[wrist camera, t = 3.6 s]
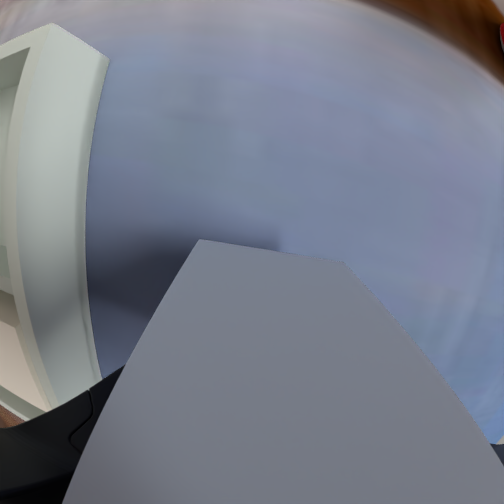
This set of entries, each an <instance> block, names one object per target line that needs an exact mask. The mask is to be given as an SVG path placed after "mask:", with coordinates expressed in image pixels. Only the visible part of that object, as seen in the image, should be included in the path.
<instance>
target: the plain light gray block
mask: <svg viewBox="0 0 504 504" xmlns="http://www.w3.org/2000/svg"><path fill="white" fill-rule="evenodd" d="M62 504H504V466H503V464H502V463H501V461H500V459H499V458H498V456H497V454H496V453H495V451H494V450H493V448H492V446H491V445H490V443H489V442H488V440H487V439H486V437H485V436H484V434H483V432H482V431H481V429H480V428H479V427H478V425H477V424H476V422H475V421H474V419H473V418H472V416H471V415H470V413H469V412H468V411H467V409H466V408H465V406H464V405H463V404H462V402H461V401H460V400H459V398H458V397H457V395H456V394H455V393H454V391H453V390H452V389H451V387H450V386H449V385H448V383H447V382H446V381H445V379H444V378H443V377H442V376H441V374H440V373H439V372H438V370H437V369H436V368H435V367H434V365H433V364H432V363H431V362H430V360H429V359H428V358H427V357H426V355H425V354H424V353H423V352H422V350H421V349H420V348H419V347H418V345H417V344H416V343H415V342H414V341H413V339H412V338H411V337H410V336H409V335H408V333H407V332H406V331H405V330H404V329H403V328H402V326H401V325H400V324H399V323H398V322H397V321H396V319H395V318H394V317H393V316H392V315H391V314H390V312H389V311H388V310H387V309H386V308H385V307H384V306H383V304H382V303H381V302H380V301H379V300H378V299H377V298H376V297H375V296H374V294H373V293H372V292H371V291H370V290H369V289H368V288H367V287H366V286H365V285H364V283H363V282H362V281H361V280H360V279H359V278H358V277H357V276H356V275H355V274H354V273H353V272H352V271H351V269H350V268H349V267H348V266H347V265H346V264H345V263H344V262H339V261H333V260H327V259H321V258H314V257H308V256H302V255H296V254H290V253H284V252H278V251H272V250H265V249H259V248H253V247H247V246H241V245H234V244H228V243H222V242H216V241H209V240H203V239H199V240H198V242H197V243H196V245H195V246H194V248H193V249H192V251H191V253H190V254H189V256H188V257H187V259H186V261H185V262H184V264H183V266H182V267H181V269H180V270H179V272H178V274H177V275H176V277H175V279H174V280H173V282H172V284H171V285H170V287H169V289H168V290H167V292H166V294H165V295H164V297H163V299H162V301H161V302H160V304H159V306H158V307H157V309H156V311H155V313H154V314H153V316H152V318H151V320H150V321H149V323H148V325H147V327H146V328H145V330H144V332H143V334H142V336H141V337H140V339H139V341H138V343H137V345H136V346H135V348H134V350H133V352H132V354H131V356H130V358H129V359H128V361H127V363H126V365H125V367H124V369H123V371H122V373H121V375H120V377H119V378H118V380H117V382H116V384H115V386H114V388H113V390H112V392H111V394H110V396H109V398H108V400H107V402H106V404H105V406H104V408H103V410H102V412H101V414H100V417H99V419H98V421H97V423H96V425H95V427H94V429H93V431H92V434H91V436H90V438H89V440H88V442H87V444H86V447H85V449H84V451H83V454H82V456H81V458H80V460H79V463H78V465H77V467H76V470H75V472H74V475H73V477H72V480H71V482H70V485H69V487H68V490H67V492H66V495H65V497H64V500H63V503H62Z"/></svg>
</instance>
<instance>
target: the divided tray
mask: <svg viewBox="0 0 504 504" xmlns="http://www.w3.org/2000/svg"><path fill="white" fill-rule="evenodd" d="M109 61H110V59H109V58H107V57H106V56H104V55H103V54H101V53H100V52H98V51H97V50H95V49H94V48H92V47H91V46H89V45H88V44H86V43H85V42H83V41H82V40H80V39H79V38H77V37H75V36H74V35H72V34H71V33H69V32H67V31H66V30H64V29H62V28H61V27H59V26H57V25H56V24H54V23H51V24H48V25H45V26H43V27H40V28H37V29H35V30H32V31H30V32H28V33H25V34H23V35H21V36H19V37H17V38H14V39H12V40H10V41H8V42H6V43H4V44H2V45H0V290H2V291H5V292H7V293H9V294H12V295H14V299H15V304H16V308H17V312H18V316H19V320H20V324H21V328H22V331H23V335H24V338H25V341H26V344H27V348H28V351H29V354H30V356H31V359H32V362H33V365H34V367H35V370H36V373H37V375H38V378H39V380H40V383H41V385H42V387H43V390H44V392H45V394H46V396H47V399H48V401H49V403H50V405H51V407H52V409H54V408H56V407H58V406H60V405H62V404H64V403H66V402H68V401H69V400H71V399H73V398H74V397H76V396H78V395H79V394H81V393H82V392H84V391H86V390H89V388H90V387H92V386H93V385H95V384H97V383H98V382H100V381H101V380H102V377H101V373H100V368H99V364H98V359H97V354H96V348H95V343H94V337H93V330H92V324H91V316H90V308H89V299H88V288H87V275H86V254H85V213H86V192H87V179H88V168H89V159H90V151H91V144H92V137H93V131H94V125H95V120H96V114H97V109H98V105H99V100H100V96H101V91H102V87H103V83H104V79H105V76H106V72H107V68H108V65H109ZM0 404H1V405H2V406H3V407H5V408H6V409H8V410H9V411H11V412H12V413H14V414H15V415H17V416H18V417H20V418H22V419H23V420H25V421H28V420H30V419H33V418H35V417H37V416H39V415H41V414H44V413H46V412H45V411H43V410H41V409H39V408H37V407H36V406H34V405H32V404H30V403H29V402H27V401H25V400H23V399H22V398H20V397H18V396H17V395H15V394H13V393H12V392H10V391H9V390H7V389H6V388H4V387H3V386H1V385H0Z"/></svg>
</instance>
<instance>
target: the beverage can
mask: <svg viewBox="0 0 504 504" xmlns="http://www.w3.org/2000/svg"><path fill="white" fill-rule="evenodd" d="M500 41H501V45H502V49H503V52H504V23H502V24H501V25H500Z"/></svg>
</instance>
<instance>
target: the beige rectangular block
mask: <svg viewBox="0 0 504 504" xmlns="http://www.w3.org/2000/svg"><path fill="white" fill-rule="evenodd" d="M0 385H1V386H3V387H4V388H6V389H7V390H9V391H10V392H12V393H13V394H15V395H17V396H18V397H20V398H22V399H23V400H25V401H27V402H29V403H30V404H32V405H34V406H36V407H37V408H39V409H41V410H43V411H45V412H48V411H50V410H52V407H51V405H50V403H49V401H48V399H47V396H46V394H45V392H44V390H43V387H42V385H41V383H40V380H39V378H38V375H37V373H36V370H35V367H34V365H33V362H32V359H31V356H30V354H29V351H28V348H27V344H26V341H25V338H24V335H23V331H22V328H21V324H20V320H19V316H18V312H17V308H16V304H15V299H14V295H12V294H9V293H7V292H5V291H2V290H0Z"/></svg>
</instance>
